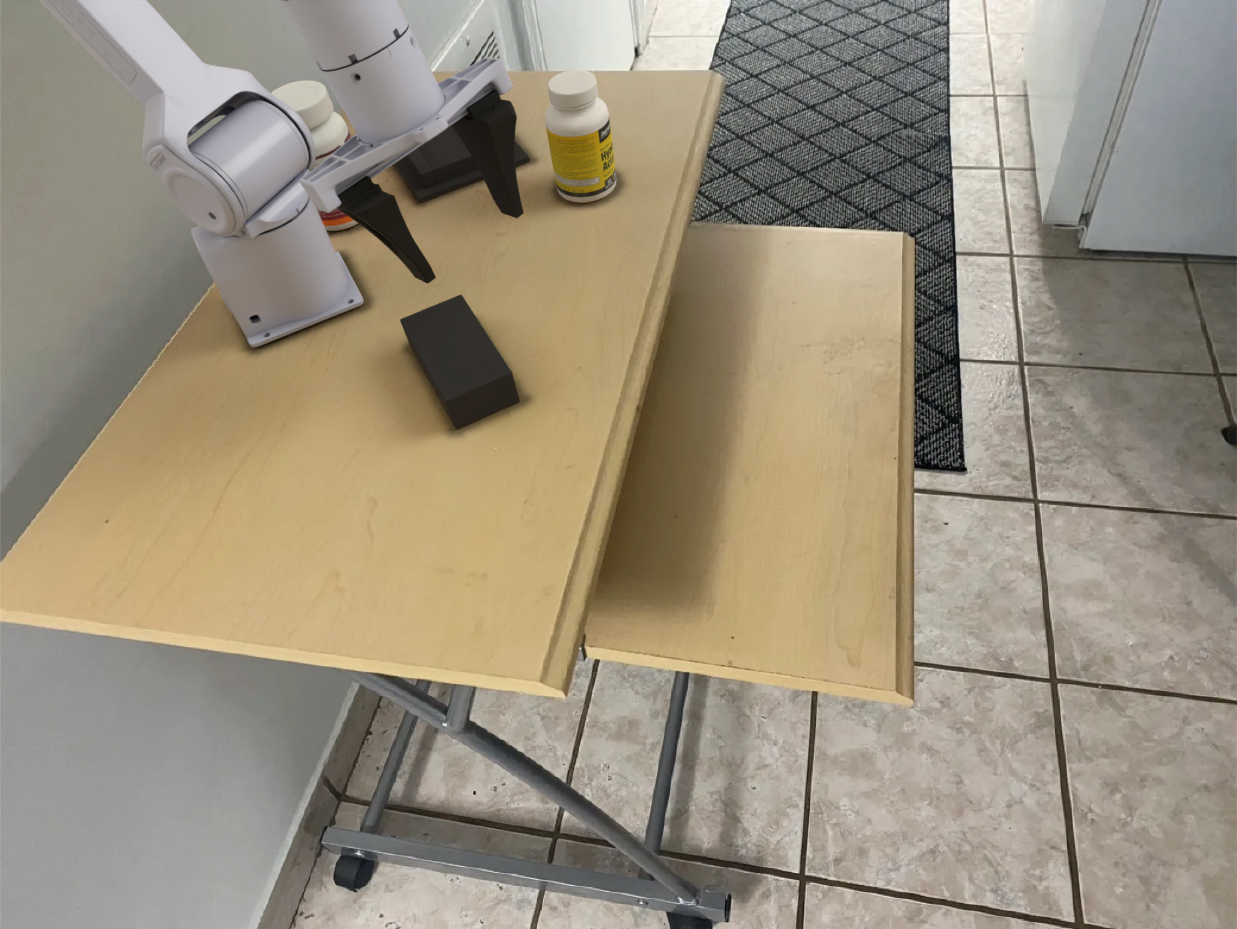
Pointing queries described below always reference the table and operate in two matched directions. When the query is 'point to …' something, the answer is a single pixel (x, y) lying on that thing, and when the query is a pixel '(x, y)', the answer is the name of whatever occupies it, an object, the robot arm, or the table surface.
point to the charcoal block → (460, 361)
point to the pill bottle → (319, 132)
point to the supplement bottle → (579, 137)
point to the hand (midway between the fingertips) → (469, 244)
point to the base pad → (443, 166)
